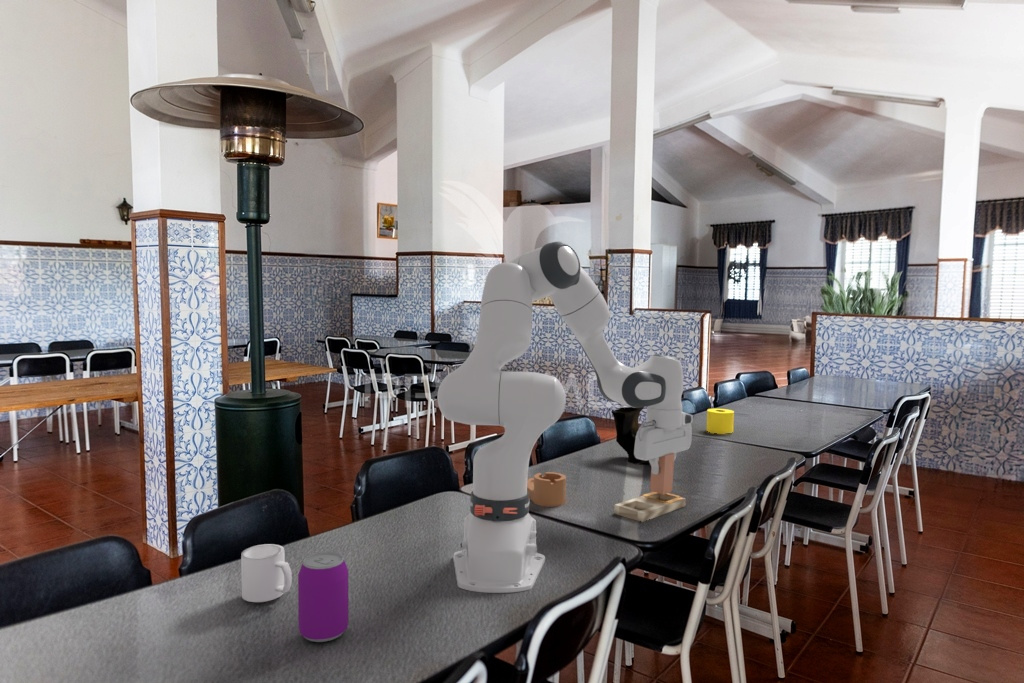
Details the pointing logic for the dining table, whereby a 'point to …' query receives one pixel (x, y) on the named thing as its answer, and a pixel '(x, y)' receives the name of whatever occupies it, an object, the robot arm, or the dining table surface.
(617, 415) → the pottery vessel
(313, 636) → the beverage can
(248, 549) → the mug
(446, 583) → the dining table surface
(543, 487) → the bracket
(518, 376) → the robot arm
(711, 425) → the tape roll
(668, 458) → the terracotta peg
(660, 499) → the peg board
